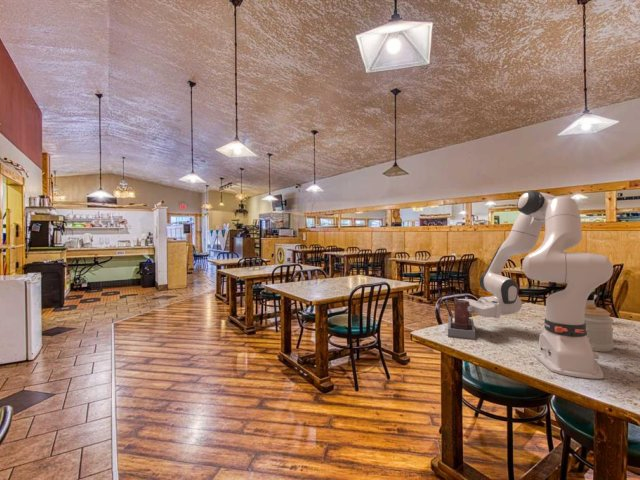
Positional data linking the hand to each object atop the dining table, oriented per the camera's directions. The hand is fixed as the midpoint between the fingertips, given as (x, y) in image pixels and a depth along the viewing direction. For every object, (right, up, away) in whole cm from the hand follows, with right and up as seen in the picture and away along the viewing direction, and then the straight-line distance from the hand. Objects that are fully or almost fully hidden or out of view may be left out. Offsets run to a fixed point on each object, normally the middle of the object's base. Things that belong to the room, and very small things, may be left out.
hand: (459, 308), depth 146 cm
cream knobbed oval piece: (+5, -11, +10) cm, 15 cm away
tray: (+3, -12, +5) cm, 13 cm away
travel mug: (+53, -11, -5) cm, 54 cm away
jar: (+45, -12, -17) cm, 50 cm away
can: (+2, -11, +1) cm, 11 cm away
